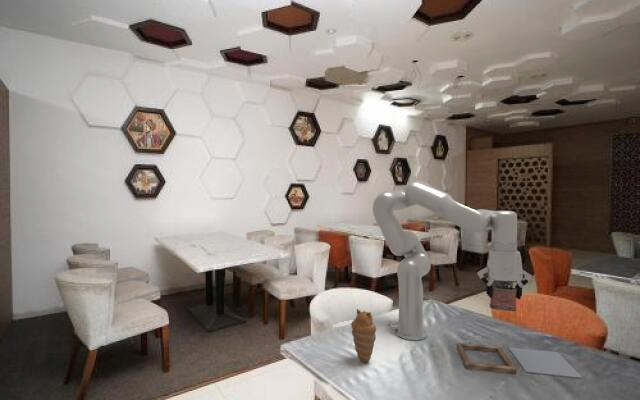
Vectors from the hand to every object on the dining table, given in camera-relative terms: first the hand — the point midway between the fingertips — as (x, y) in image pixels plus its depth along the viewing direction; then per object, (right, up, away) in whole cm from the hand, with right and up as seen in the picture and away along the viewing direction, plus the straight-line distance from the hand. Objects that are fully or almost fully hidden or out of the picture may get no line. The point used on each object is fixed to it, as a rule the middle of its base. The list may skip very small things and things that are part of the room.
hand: (503, 297), depth 112 cm
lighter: (0, -4, +1) cm, 4 cm away
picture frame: (-6, -22, +2) cm, 23 cm away
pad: (+13, -22, 0) cm, 26 cm away
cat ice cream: (-48, -23, +1) cm, 53 cm away
